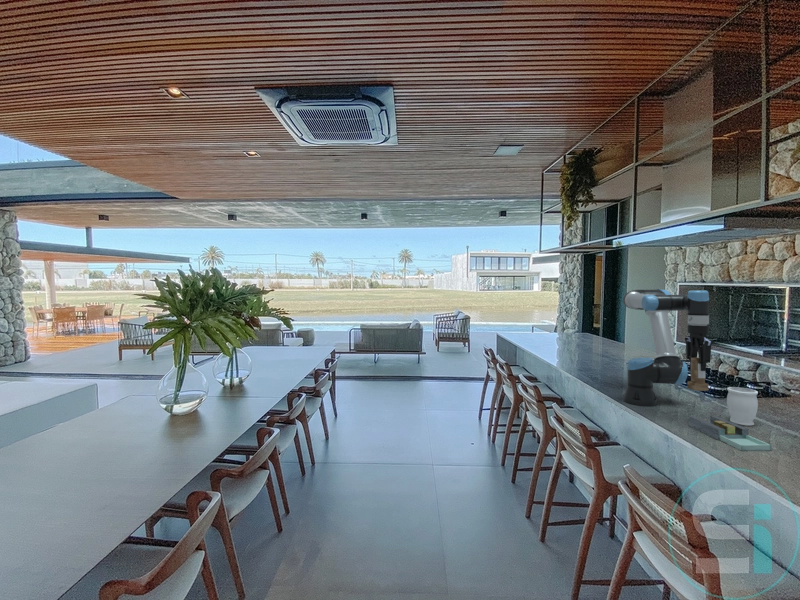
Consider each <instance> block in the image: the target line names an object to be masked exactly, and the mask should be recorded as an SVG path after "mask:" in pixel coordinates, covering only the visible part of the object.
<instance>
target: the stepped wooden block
mask: <svg viewBox="0 0 800 600" xmlns="http://www.w3.org/2000/svg"><path fill="white" fill-rule="evenodd" d="M702 361H703V360H702ZM698 362H699V357H697V358H691V367H690V381H687V389H689V390H693V391H695V392H698V391H699V392H704V391H705V392H706V391H709V389H710V388H709V383H707V382H706V377H705V378H698Z"/></svg>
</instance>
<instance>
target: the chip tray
mask: <svg viewBox="0 0 800 600" xmlns="http://www.w3.org/2000/svg"><path fill="white" fill-rule="evenodd" d="M718 441H721V442H723V443H725V444H727V445H729V446H731V447H733V448H735V449H737V450H739V451H741V452H742V451H747V452H749V451H751V452H752V451H758V452H759V451H772V444H769V443H767V442H766V441H762V440H761V439H758V438H757V437H756V438H755V437H754V436H751V435H749V434H748V435H746V439H728V438H726V437H724V436H722V435H719V440H718Z"/></svg>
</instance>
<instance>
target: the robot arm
mask: <svg viewBox="0 0 800 600" xmlns="http://www.w3.org/2000/svg"><path fill="white" fill-rule="evenodd" d="M709 294H710V293H709V291H708V290H707V289H706V290H689V291H688V292H687V294H671V293H670V291H669V290H667V289H660V288H655V289H633V290H630V291H628V292H626V293H625V294H624V295H623V298H622V303H623V305H624V306H625V307H626V308H628V309H632V310H636V311H637V310H639V311H641V310H642V311H645V315H647V316H649V320H650V321H649V322H650V326H651V333H652V337H653V344H654V347H655V349H654V350H655V353H656V356H655V357H654V358H652V357H635V358H631V359H629V360H628V361H627V367H626V369H627V383H626V384H627V385H626V389H625V392H624V395H623V401H624V402H625V403H628V404H631V405H636V406H640V407H641V406H644V407H653V406H657V405H658V399H657V396H656V393H655V390H654V384H667V385H683V384H684V383H685V382H686V380H687V379H688V375H689V368H688V364H687V363H686V362H685V361H682V360H681V357H680V356H679V355H677V353H676V349H675V343H674V338H673V333H672V330H671V325H670V324H671V323H670V320H669V313H670V312H671V311H678V312H679V311H681V312H683V311H685V312H686V311H687V333H688V334H689V335H688V337H685V338H684V341H685V353H686V354H685V356H686V357H685V358H686V360H688V361H689V362H690V363H689V365H690V366H689V367H690V368H691V358H699V362H698V378H705V379H706V371H707V364H710V363H711V361H712V360H711V359H712V358H711V357H712V346H713V341H712V340H709V339H708V337H707V335H708V334H709V333H710V330H709V328H710V327H709V324H710V314H709V313H710V295H709ZM702 360H703V361H702Z"/></svg>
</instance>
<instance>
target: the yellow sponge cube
mask: <svg viewBox="0 0 800 600" xmlns="http://www.w3.org/2000/svg"><path fill="white" fill-rule="evenodd" d="M721 428H723V429H725V433H726V434H735V426H732V425H730V424H722V425H721Z"/></svg>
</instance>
